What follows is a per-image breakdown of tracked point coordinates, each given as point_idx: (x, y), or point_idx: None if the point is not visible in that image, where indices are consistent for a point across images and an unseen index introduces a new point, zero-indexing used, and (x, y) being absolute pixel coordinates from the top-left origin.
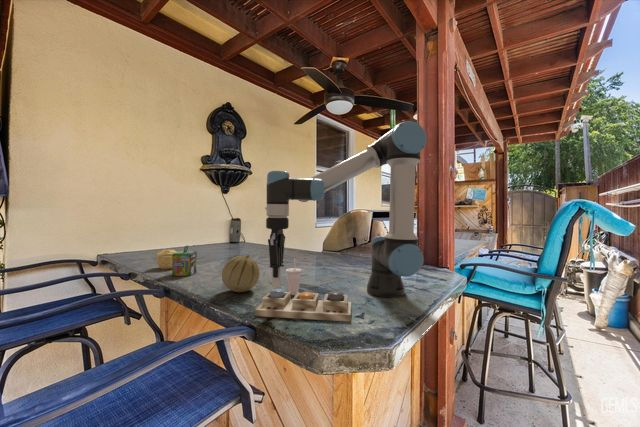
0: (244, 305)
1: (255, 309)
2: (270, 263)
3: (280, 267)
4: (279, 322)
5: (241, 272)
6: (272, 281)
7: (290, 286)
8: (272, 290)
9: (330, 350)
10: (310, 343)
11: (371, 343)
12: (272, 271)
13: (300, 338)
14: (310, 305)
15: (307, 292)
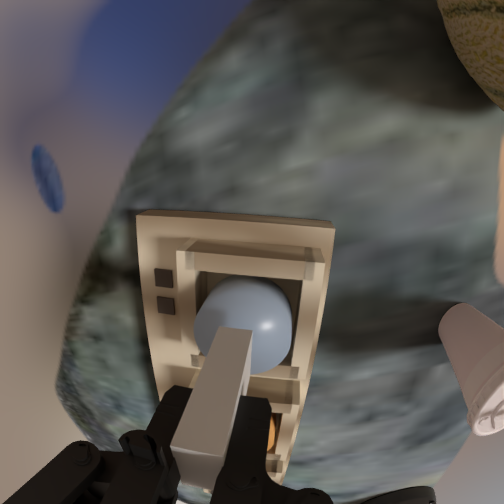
0: (283, 105)
1: (137, 217)
2: (54, 463)
3: (202, 487)
4: (120, 315)
5: (496, 5)
6: (208, 353)
7: (458, 339)
8: (242, 310)
9: (59, 400)
10: (61, 378)
11: None
12: (182, 415)
13: (67, 364)
14: None
15: (269, 443)
